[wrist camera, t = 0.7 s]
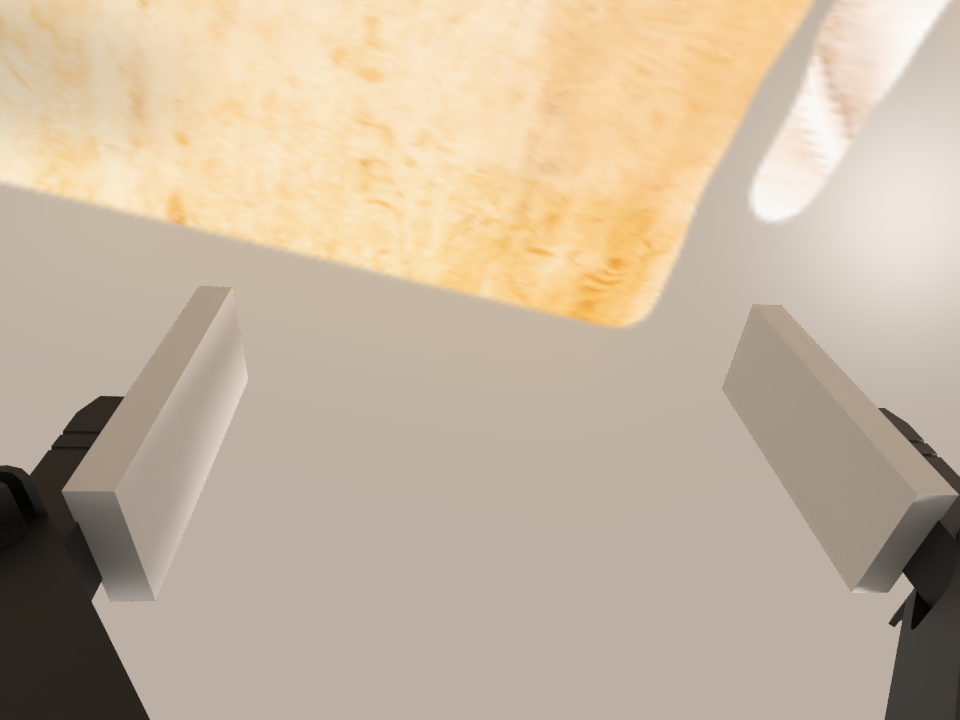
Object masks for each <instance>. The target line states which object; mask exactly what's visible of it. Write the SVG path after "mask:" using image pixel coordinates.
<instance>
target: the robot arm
mask: <svg viewBox="0 0 960 720" xmlns="http://www.w3.org/2000/svg"><path fill="white" fill-rule="evenodd" d="M247 381H248V376H247V370H246V364H245V358H244V352H243V347H242V341H241V335H240V330H239V324H238V318H237V312H236V307H235V301H234V296H233V290H232V287H212V286H211V287H210V286H199V287H198V288H197V290H196V292H195V293H194V294H193V296H192V298H191V299H190V301H189V302H188V303H187V305H186V307H185V308H184V309H183V311H182V312H181V314H180V315H179V317H178V318H177V320H176V321H175V323H174V324H173V326H172V327H171V329H170V330H169V332H168V333H167V335H166V336H165V338H164V339H163V341H162V342H161V344H160V345H159V347H158V348H157V350H156V351H155V353H154V354H153V356H152V357H151V359H150V360H149V362H148V363H147V365H146V366H145V368H144V369H143V371H142V372H141V374H140V375H139V376H138V378H137V380H136V381H135V383H134V384H133V385H132V387H131V389H130V390H129V391H128V393H127V394H126V396H125V397H118V396H116V397H115V396H100V397H99V398H97V399H95V400H94V401H93V402H91V403H90V404H88V405H87V406H85V407H84V408H83V409H81V410H80V411H78V412H77V413H76V414H75V416H74V417H73V418H72V420H71V421H70V422H69V424H68V425H67V426H66V428H65V429H64V430H63V435H60V436H59V437H58V439H57V440H56V441H55V442H54V444H53V445H52V449H51V450H49V451H48V452H47V453H46V454H45V456H44V457H43V458H42V460H41V461H40V462H39V464H38V465H37V466H36V468H35V469H34V470H33V472H32V473H31V474H30V476H29V475H28V474H27V473H26V472H25V471H24V470H23V469H21V468H17V467H12V466H8V465H6V466H0V720H150V719H149V717H148V715H147V713H146V711H145V709H144V707H143V705H142V703H141V701H140V699H139V697H138V695H137V693H136V691H135V689H134V687H133V685H132V683H131V681H130V679H129V677H128V674H127V672H126V670H125V668H124V667H123V664H122V662H121V660H120V658H119V656H118V654H117V652H116V650H115V649H114V646H113V644H112V642H111V640H110V638H109V636H108V634H107V632H106V630H105V628H104V626H103V624H102V622H101V620H100V618H99V616H98V614H97V612H96V610H95V608H94V606H93V604H92V602H91V601H92V599H93V597H94V595H95V593H96V591H97V589H98V587H99V585H100V583H101V582H102V584H103V586H104V589H105V591H106V593H107V595H108V598H109V600H110V601H155V600H156V598H157V596H158V594H159V591H160V589H161V586H162V584H163V582H164V579H165V577H166V575H167V572H168V570H169V567H170V565H171V563H172V560H173V558H174V556H175V553H176V551H177V548H178V546H179V544H180V541H181V539H182V536H183V534H184V532H185V529H186V527H187V524H188V522H189V520H190V517H191V515H192V513H193V510H194V508H195V505H196V503H197V501H198V498H199V496H200V493H201V491H202V488H203V486H204V483H205V481H206V479H207V477H208V474H209V472H210V470H211V467H212V465H213V462H214V460H215V458H216V455H217V453H218V450H219V448H220V446H221V443H222V441H223V438H224V436H225V433H226V431H227V429H228V426H229V424H230V422H231V419H232V417H233V414H234V412H235V410H236V407H237V405H238V402H239V400H240V398H241V395H242V393H243V391H244V388H245V386H246V383H247ZM722 389H723V391H724V393H725V394H726V396H727V397H728V399H729V401H730V402H731V404H732V405H733V407H734V409H735V410H736V412H737V413H738V415H739V416H740V418H741V420H742V421H743V423H744V424H745V426H746V427H747V429H748V431H749V432H750V433H751V435H752V437H753V438H754V440H755V442H756V443H757V445H758V446H759V448H760V449H761V451H762V453H763V454H764V456H765V457H766V459H767V460H768V462H769V464H770V465H771V467H772V468H773V470H774V471H775V473H776V474H777V476H778V477H779V479H780V481H781V482H782V484H783V486H784V487H785V489H786V490H787V492H788V493H789V495H790V497H791V498H792V500H793V501H794V503H795V504H796V506H797V508H798V509H799V511H800V512H801V514H802V515H803V517H804V519H805V520H806V522H807V523H808V525H809V526H810V528H811V529H812V531H813V533H814V534H815V536H816V537H817V539H818V540H819V542H820V544H821V545H822V547H823V548H824V550H825V551H826V553H827V555H828V556H829V558H830V559H831V561H832V562H833V564H834V566H835V567H836V569H837V570H838V572H839V574H840V575H841V577H842V578H843V580H844V581H845V583H846V585H847V586H848V588H849V589H850V591H851V592H852V593H880V592H881V593H883V592H884V593H885V592H889V591H890V589H891V588H892V587H893V585H894V584H895V582H896V581H897V580H898V578H899V577H900V575H901V574H902V573H904V574H905V575H906V577H907V578H908V579H909V581H910V582H911V584H912V585H913V586H914V589H913V591H912V592H911V593H910V595H909V596H908V597H907V599H906V600H905V601H904V603H903V604H902V605H901V606H900V608H899V609H898V610H897V612H896V613H895V614H894V616H893V617H892V619H891V621H890V622H889V624H890V625H891V626H893V627H895V626H896V625H897V623H898V622H899V621H900V620H902V626H901V631H900V637H899V643H898V648H897V654H896V659H895V665H894V671H893V676H892V682H891V687H890V693H889V698H888V704H887V710H886V716H885V720H960V477H959V476H958V475H957V474H956V473H955V472H954V471H953V470H952V469H951V468H950V466H949V465H947V463H946V462H945V461H944V460H943V459H942V458H941V457H937V453H936V452H935V451H934V450H933V449H932V448H931V447H930V446H929V445H928V444H926V443H924V440H923V439H922V438H921V437H920V436H919V435H918V434H917V433H916V432H915V430H914V429H913V428H912V427H911V426H910V425H909V424H908V423H906V422H905V421H903V420H902V419H900V418H899V417H897V416H895V415H894V414H893V413H891V412H889V411H888V410H886V409H885V408H877V407H876V406H875V405H874V404H873V403H872V402H871V401H870V400H869V398H867V397H866V396H865V394H864V393H863V392H862V391H861V390H860V389H859V388H858V387H857V386H856V385H855V384H854V383H853V381H852V380H851V379H850V378H849V377H848V376H847V375H846V374H845V373H844V372H843V371H842V370H841V369H840V368H839V367H838V365H837V364H836V363H835V362H834V361H833V360H832V359H831V358H830V357H829V356H828V355H827V354H826V353H825V352H824V351H823V350H822V348H820V346H819V345H818V344H817V343H816V342H815V341H814V340H813V339H812V338H811V337H810V336H809V335H808V334H807V333H806V331H804V329H803V328H802V327H801V326H800V325H799V324H798V323H797V322H796V321H795V320H794V319H793V318H792V317H791V315H790V314H788V312H787V311H786V310H785V309H784V308H783V307H782V306H781V305H758V304H755V305H754V304H753V306H752V308H751V311H750V314H749V316H748V319H747V322H746V325H745V327H744V330H743V333H742V335H741V338H740V341H739V344H738V346H737V350H736V352H735V355H734V358H733V360H732V363H731V366H730V368H729V371H728V374H727V377H726V380H725V382H724V385H723V388H722Z"/></svg>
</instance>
